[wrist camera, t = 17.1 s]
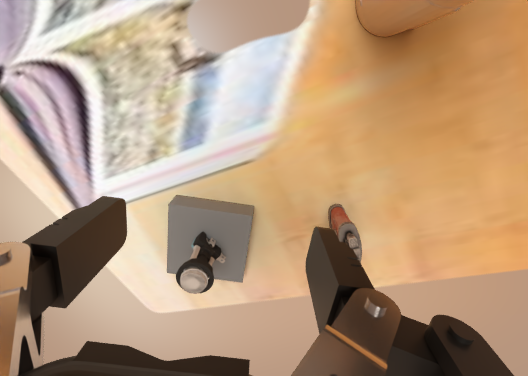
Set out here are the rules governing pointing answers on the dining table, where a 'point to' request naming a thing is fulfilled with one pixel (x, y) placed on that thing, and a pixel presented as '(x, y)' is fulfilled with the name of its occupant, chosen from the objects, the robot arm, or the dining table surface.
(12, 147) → the dining table surface
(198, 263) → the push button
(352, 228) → the lighter
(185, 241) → the slate stand
